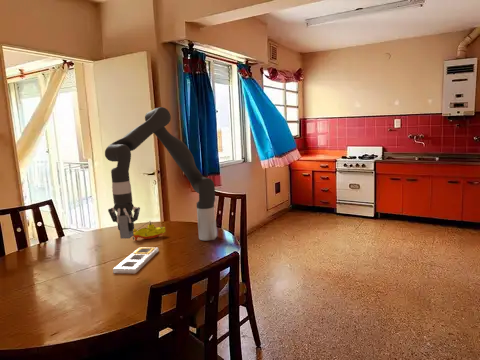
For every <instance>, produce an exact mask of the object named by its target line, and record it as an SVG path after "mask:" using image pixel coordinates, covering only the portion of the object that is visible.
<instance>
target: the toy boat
mask: <svg viewBox="0 0 480 360" xmlns="http://www.w3.org/2000/svg"><path fill="white" fill-rule="evenodd" d="M148 223H149V224H148ZM145 225H146V227H144V226H145ZM142 227H143V228H142ZM164 233H166V227H165V226H159V227H156V225H155V224H153V223H152V221H151V220H149V221H148V222H146V223H145V224H143V225H142V226H140V227H139V228H134V229H133V235H134V236H132V240H133V241H135V242H136V241H137V240H138V238H139V239H144V240H147V239H155V238H158V237H159V236H161V235H163V234H164Z"/></svg>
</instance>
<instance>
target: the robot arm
mask: <svg viewBox="0 0 480 360" xmlns="http://www.w3.org/2000/svg"><path fill="white" fill-rule="evenodd" d="M171 119H172V117H171V113H170V111H169V110H168V109H167V108H166V107H164V106H163V107H162V106H161V107H160V106H159V107H155V108H154V109H152V110H150V111H147V113H146V114H145V116H144V120H145V121H144V122H143V123H141V124H139V125H138V126H136V127H135V128H133V129H132V130H131V131H129V132H128V133H127V134H126V135H124V136H123V137H121V138H120V139H118V140H116V141H113V142H112V143H110V144H109V145H108V146H107V147H106V149H105V150H104V156H105V158H106V160H107V161H110V162H116V163H117V164H116V166H115V167H113V168H111V170H110V174H111V185H112V186H111V188H112V197H113V199H112V200H113V204H114V206H113V207H110V208H108V210H107V211H108V213H109V215H110V217H111V220H112V222H113V223H117V229H118V231H119V232H120V229H119V220H118V216H120V215H126V216H127V218H128V221H129V230H130V231H133V230H134V229H135V223H134V222H136V221H137V220H138V219H139V215H140V211H141V207H140V206H138V207H136V206H134V204H133V193H132V185H131V180H130V164H131V159H132V151H134V150H136V149H137V148H138V147H140V146H141V144H143V143H144V142H145V141H146V140H147V139H148V138H149V137H150V136H151V135H153V134H154V135H155V136H156V137H157V138H158V140H159V141H160V142H161V144H162V145H163V146H164V148H165V149H166V150H167V151H168V153H169V154H170V157H171V158H172V159H173V160H174V162H175V163H176V165H178V167H179V168H180V170H181V172H183V174H184V175H185V176H186V178H187V180H188V182H189V183H190V185H191V188H192V189H193V190H194V191H195V192H196V194H198V201H197V202H196V214H197V215H196V216H197V229H198V230H197V231H198V239H199V240H200V241H205V242H206V241H215V240H216V238H217V237H218V233H217V232H218V231H217V220H216V219H215V218H216V216H215V201H216V190H215V189H216V187H215V183H214V181H213V180H212V179H211V178H210V177H209V178H208V177H205V176H204V175H203V174H202V173H201V172H200V170H199V169H198V167H197V166H196V162H195V159H194V158H195V157H194V156H193V153H192V152H191V150H190V149H189V147H188V145H186V143H185V142H184V141H182V140H180V138H177V137H176V136H174V135H173V134H171V132H169V131H168V129H167V128H166V126H168V125H169V123H170V122H171ZM132 212H133V213H132ZM129 214H130V215H129Z"/></svg>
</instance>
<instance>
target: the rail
mask: <svg viewBox="0 0 480 360" xmlns="http://www.w3.org/2000/svg"><path fill="white" fill-rule="evenodd" d="M157 253H159V247H157V246H156V247H155V246H154V247H148V246H147V247H144V246H143V247H141V246H140V247H137V248H136V249H135V250H134V251H133V252H132V253H130V254H129V255H128V256H126V258H124V259H123V260H122V261H121V262H119V263H118V264H117V265H116V266H114V267H113V268H112V273H113V274H134V275H135V274H137V273H138V272H139V271H140V269H142V268H143V267H144V266H146V265H147V264H148V262H149V261H150V260H151V259H152V258H153V257H154V256H155V255H157Z"/></svg>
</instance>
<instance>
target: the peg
mask: <svg viewBox="0 0 480 360" xmlns="http://www.w3.org/2000/svg"><path fill="white" fill-rule="evenodd" d="M129 215H130V214H129ZM118 220H119V229H120V231H119V237H120V240H121V239H124V240H126V239H131V238H133V236H134V235H133V231H130V230H129V221H128V218H127V216H126V215H120V216H118Z"/></svg>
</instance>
